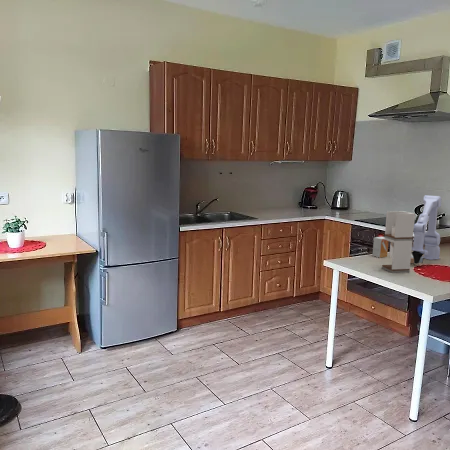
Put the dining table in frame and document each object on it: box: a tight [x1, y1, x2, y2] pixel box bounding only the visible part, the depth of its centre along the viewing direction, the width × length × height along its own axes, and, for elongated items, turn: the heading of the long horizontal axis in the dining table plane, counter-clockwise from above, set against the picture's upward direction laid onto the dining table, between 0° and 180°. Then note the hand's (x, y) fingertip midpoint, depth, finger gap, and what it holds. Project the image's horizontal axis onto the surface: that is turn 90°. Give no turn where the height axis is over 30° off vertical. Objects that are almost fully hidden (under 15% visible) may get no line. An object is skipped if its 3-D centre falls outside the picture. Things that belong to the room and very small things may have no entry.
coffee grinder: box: [381, 210, 416, 274], centre depth 258 cm, size 11×11×35 cm
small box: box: [371, 236, 390, 259], centre depth 295 cm, size 8×6×13 cm
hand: (416, 263), depth 273 cm, fingers closed
